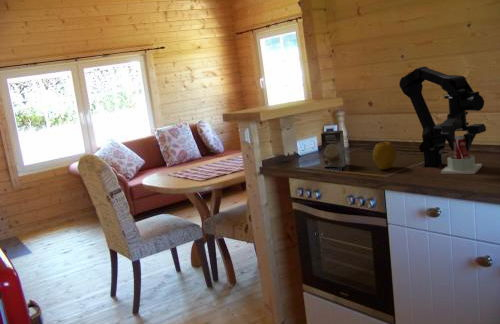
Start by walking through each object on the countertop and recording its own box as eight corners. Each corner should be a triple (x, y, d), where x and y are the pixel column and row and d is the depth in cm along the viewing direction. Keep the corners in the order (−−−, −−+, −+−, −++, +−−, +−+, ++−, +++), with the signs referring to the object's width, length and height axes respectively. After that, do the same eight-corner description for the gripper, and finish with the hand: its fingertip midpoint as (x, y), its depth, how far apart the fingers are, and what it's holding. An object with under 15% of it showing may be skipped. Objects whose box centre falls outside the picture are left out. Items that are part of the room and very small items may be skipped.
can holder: (441, 173, 198) (440, 160, 197) (449, 166, 207) (448, 154, 206) (474, 173, 191) (473, 160, 190) (481, 166, 200) (481, 153, 199)
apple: (396, 170, 213) (394, 142, 211) (372, 172, 216) (369, 144, 214) (398, 165, 222) (396, 138, 220) (375, 166, 225) (372, 140, 223)
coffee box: (323, 168, 238) (319, 133, 235) (327, 165, 243) (323, 131, 240) (343, 167, 234) (339, 132, 231) (347, 164, 239) (343, 129, 236)
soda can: (452, 167, 201) (450, 136, 199) (465, 165, 201) (463, 134, 199) (459, 169, 196) (457, 138, 194) (472, 167, 196) (470, 136, 194)
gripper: (423, 114, 198) (426, 154, 201) (468, 113, 183) (471, 156, 186) (440, 109, 204) (443, 148, 207) (485, 108, 189) (488, 150, 192)
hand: (460, 150), depth 198 cm, fingers open, 6 cm apart
